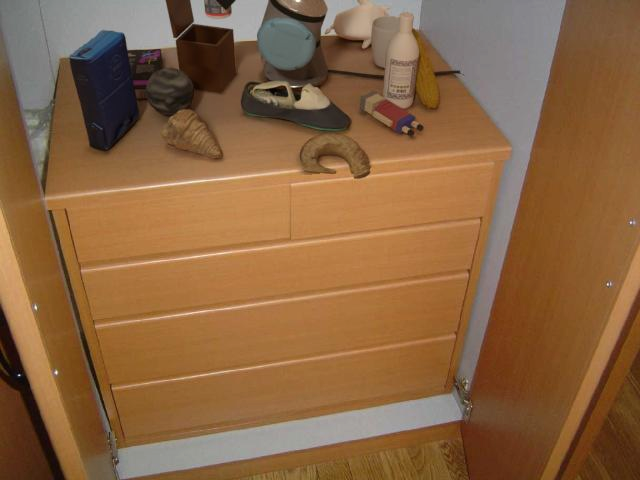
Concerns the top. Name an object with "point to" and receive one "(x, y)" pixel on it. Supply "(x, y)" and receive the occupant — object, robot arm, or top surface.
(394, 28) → the mug
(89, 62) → the blue rectangular carton
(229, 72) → the chest
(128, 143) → the top surface
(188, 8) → the lid
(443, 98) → the top surface
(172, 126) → the seashell
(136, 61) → the box
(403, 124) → the toy
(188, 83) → the decorative stone
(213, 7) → the pill bottle
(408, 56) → the bath foam
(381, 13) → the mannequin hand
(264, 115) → the ballet flat
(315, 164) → the artifact
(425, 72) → the food
